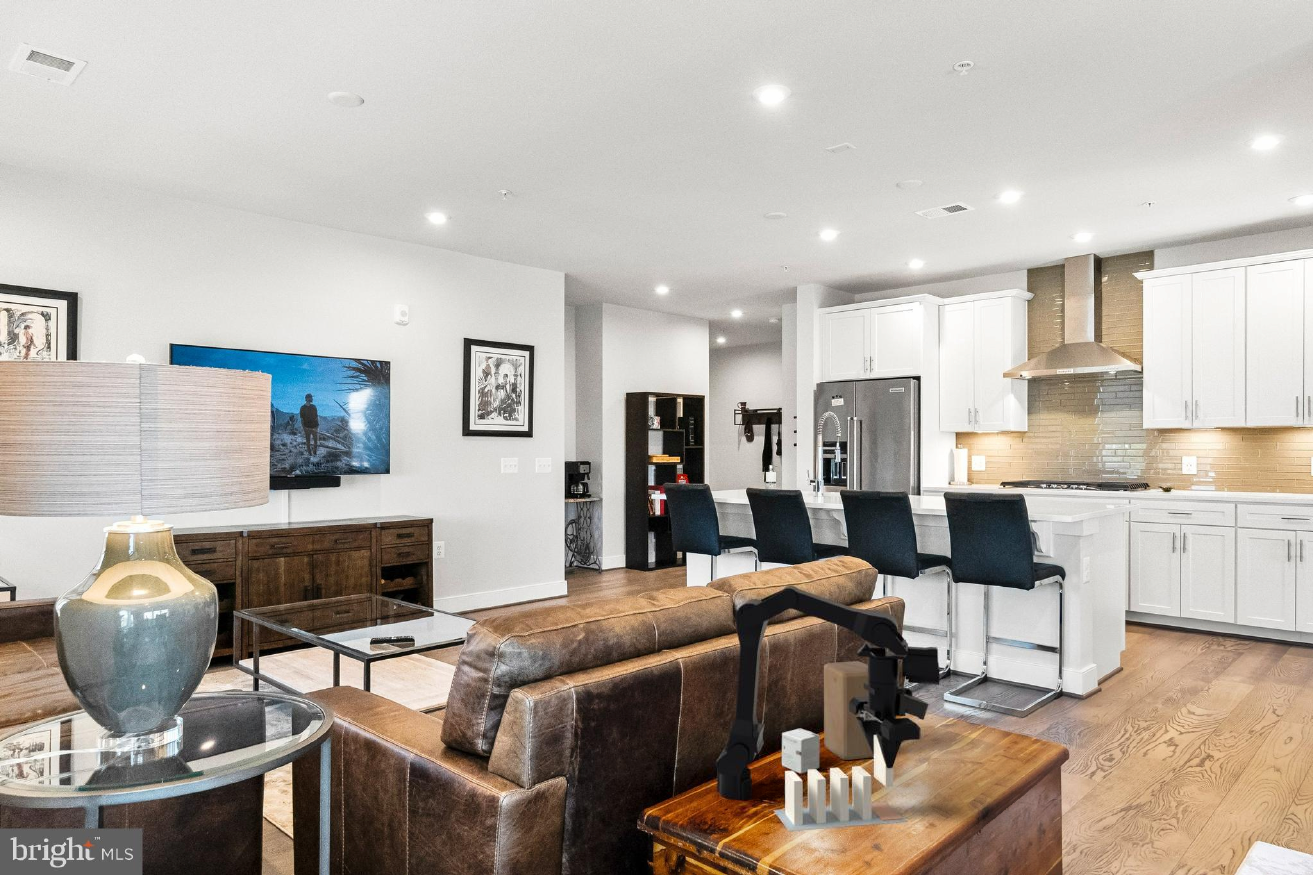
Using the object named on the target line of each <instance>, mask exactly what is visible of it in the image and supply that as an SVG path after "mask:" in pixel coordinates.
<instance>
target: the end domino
mask: <svg viewBox="0 0 1313 875" xmlns="http://www.w3.org/2000/svg"><path fill="white" fill-rule="evenodd" d="M894 766H895V764H894V765H893V768H887V767H886V764H885V761H884V758H883V755H882V752H881V748H880V745H879V742H878V738H877V735H874V757H873V777H874V779H876V780H877V781H878V782H879V783H880V784H882V785H883V786H884V787H885V788H887V787H894V786H895V785H894V778H895V777H894V772H895V771H894Z"/></svg>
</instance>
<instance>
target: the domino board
mask: <svg viewBox="0 0 1313 875" xmlns="http://www.w3.org/2000/svg"><path fill="white" fill-rule="evenodd" d="M773 812H774V813H775V815H776V816H777V817H778V818H779V820H780V821H781V822H782V824H783V825H784V827H785V828H786V829H787V830H788V832H796V831H805V830H806V831H808V830H809V831H810V830H811V831H812V830H820V829H821V830H822V829H834V828H844V827H845V828H847V827H857V826H858V827H859V826H870V825H880V824H881V825H883V824H895V823H908V820H907V819H906V818H904V817H903V816H902V815H901V814H900V813H899V812H898V811H897V810H896V809H895V808H894V807H892V806H891V805H890V804H889V803H888V802H887V801H878V802H877V801H875V802H871V812H872V819H869V820H863V819H862V818H861V817H860V816H859V815H858V814H857V813H856V812H855V811H854V810H853V809H852V803H851V804H850V803H849V821H844V822H840V820H839V819H838V818H837V817H836V816H835V815H834V814H833V813H832V812H831V811H830V805H826V823H819V824H818V823H817V822H816V821H815V820H814V819H813V818H812V816H811V815H810V814H809V813H808V807H803V825H794V824H793V823H792V822H791V821H790V819H789V818H788V817H787V815H786V814H785V808H783V809H773Z"/></svg>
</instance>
